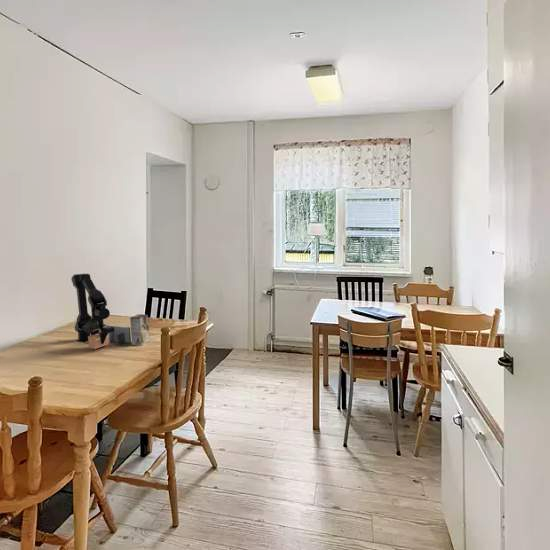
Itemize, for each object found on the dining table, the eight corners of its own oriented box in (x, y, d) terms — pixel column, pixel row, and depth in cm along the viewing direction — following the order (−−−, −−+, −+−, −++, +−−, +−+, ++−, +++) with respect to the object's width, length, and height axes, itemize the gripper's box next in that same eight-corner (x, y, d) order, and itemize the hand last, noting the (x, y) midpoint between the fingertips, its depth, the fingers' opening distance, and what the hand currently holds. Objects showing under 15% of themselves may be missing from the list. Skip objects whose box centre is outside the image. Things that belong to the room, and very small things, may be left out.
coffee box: (139, 340, 243) (138, 314, 241) (149, 341, 242) (148, 314, 240) (131, 345, 234) (129, 317, 232) (141, 345, 233) (140, 317, 231)
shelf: (98, 342, 241) (96, 327, 240) (106, 339, 247) (105, 324, 246) (122, 345, 233) (121, 330, 232) (131, 342, 239) (130, 327, 238)
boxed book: (89, 347, 225) (88, 336, 224) (103, 343, 234) (102, 332, 233) (95, 348, 223) (94, 337, 223) (109, 344, 232) (108, 332, 232)
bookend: (116, 344, 236) (115, 334, 235) (123, 342, 240) (122, 332, 239) (122, 345, 234) (122, 335, 233) (129, 343, 238) (128, 333, 237)
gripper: (72, 317, 223) (74, 345, 225) (98, 320, 216) (99, 349, 218) (89, 313, 233) (91, 340, 235) (114, 316, 226) (116, 344, 228)
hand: (99, 343), depth 229 cm, fingers closed on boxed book, 4 cm apart
